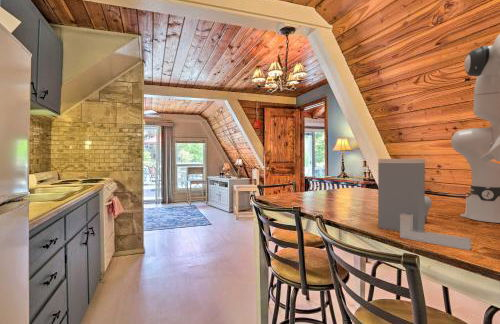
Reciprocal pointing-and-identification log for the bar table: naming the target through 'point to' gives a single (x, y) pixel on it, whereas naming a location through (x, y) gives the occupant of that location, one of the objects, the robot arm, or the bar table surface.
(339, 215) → the bar table surface
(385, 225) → the stand
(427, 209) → the lightbulb
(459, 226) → the bar table surface
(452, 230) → the bar table surface
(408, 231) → the block
